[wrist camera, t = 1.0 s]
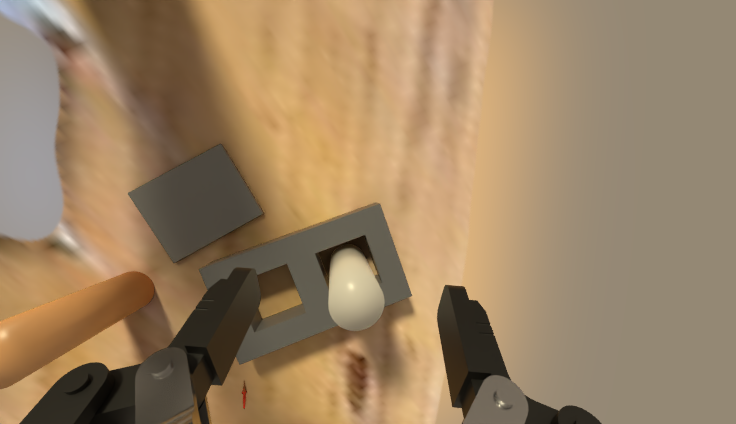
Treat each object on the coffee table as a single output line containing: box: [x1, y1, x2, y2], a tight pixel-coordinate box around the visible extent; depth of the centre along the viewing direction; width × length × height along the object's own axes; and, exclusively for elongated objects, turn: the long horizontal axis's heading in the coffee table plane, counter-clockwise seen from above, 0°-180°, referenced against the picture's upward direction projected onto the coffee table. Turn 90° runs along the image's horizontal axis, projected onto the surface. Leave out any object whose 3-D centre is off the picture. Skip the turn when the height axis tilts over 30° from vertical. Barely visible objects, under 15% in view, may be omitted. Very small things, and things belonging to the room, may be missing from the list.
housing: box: [199, 203, 412, 365], centre depth 25 cm, size 10×18×12 cm, turn 110°
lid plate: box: [128, 144, 264, 263], centre depth 29 cm, size 8×10×1 cm
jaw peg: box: [0, 271, 154, 389], centre depth 23 cm, size 4×4×12 cm
